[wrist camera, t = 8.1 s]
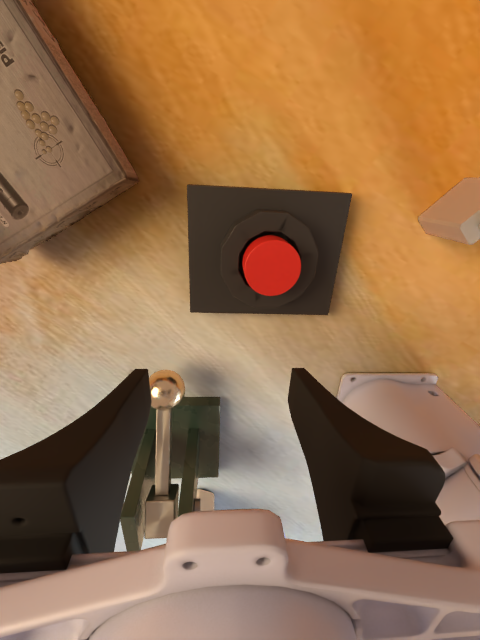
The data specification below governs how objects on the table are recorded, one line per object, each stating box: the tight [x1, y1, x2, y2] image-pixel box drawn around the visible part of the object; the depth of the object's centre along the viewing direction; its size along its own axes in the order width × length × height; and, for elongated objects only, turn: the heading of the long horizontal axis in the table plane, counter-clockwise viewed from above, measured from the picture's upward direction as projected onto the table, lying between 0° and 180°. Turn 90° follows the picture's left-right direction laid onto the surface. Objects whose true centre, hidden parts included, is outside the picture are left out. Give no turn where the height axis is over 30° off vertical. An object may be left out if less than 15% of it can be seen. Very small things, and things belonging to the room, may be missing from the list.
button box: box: [187, 184, 352, 315], centre depth 21 cm, size 11×9×3 cm
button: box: [242, 235, 301, 296], centre depth 19 cm, size 4×4×2 cm
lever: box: [145, 370, 185, 539], centre depth 23 cm, size 12×3×3 cm, turn 177°
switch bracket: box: [120, 397, 220, 552], centre depth 26 cm, size 10×9×9 cm
